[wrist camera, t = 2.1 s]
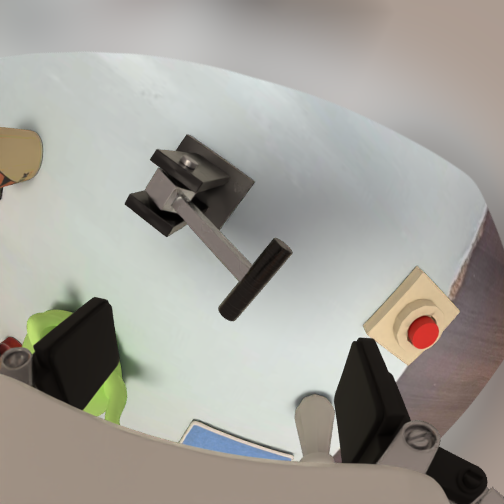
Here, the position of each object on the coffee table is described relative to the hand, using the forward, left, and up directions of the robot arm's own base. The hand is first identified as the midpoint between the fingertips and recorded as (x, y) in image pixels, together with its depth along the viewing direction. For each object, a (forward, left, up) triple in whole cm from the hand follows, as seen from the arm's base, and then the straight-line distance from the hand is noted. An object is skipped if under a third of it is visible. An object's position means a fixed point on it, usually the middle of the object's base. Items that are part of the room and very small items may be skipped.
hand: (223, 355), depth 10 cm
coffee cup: (+12, -35, -23) cm, 44 cm away
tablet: (+36, +21, -23) cm, 48 cm away
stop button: (-3, +22, -20) cm, 29 cm away
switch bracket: (0, -8, -23) cm, 25 cm away
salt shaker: (+16, +22, -23) cm, 36 cm away
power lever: (0, -4, -12) cm, 13 cm away
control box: (-3, +22, -23) cm, 32 cm away
